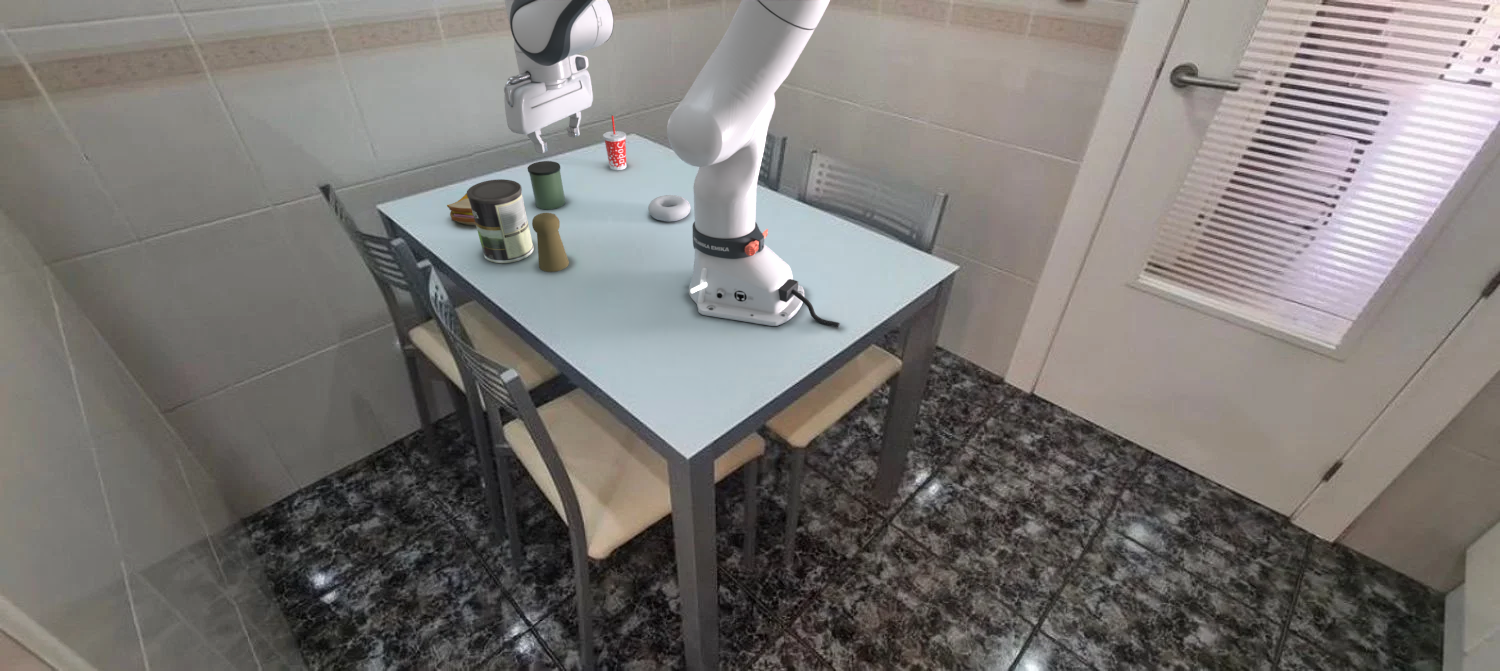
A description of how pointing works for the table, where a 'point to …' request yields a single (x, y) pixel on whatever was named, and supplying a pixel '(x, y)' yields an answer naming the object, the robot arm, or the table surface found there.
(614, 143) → the beverage cup
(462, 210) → the toy sandwich meal
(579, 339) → the table surface
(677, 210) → the donut
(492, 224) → the coffee can
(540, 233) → the cork
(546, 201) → the olive tin
